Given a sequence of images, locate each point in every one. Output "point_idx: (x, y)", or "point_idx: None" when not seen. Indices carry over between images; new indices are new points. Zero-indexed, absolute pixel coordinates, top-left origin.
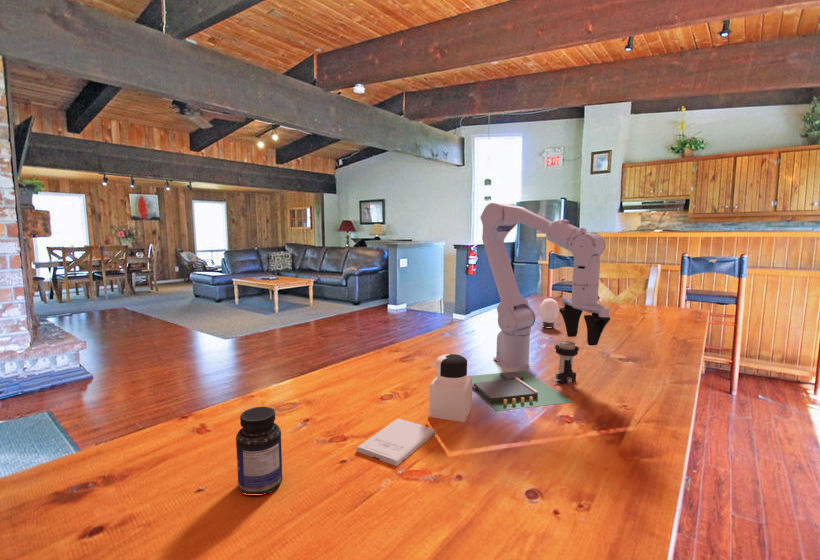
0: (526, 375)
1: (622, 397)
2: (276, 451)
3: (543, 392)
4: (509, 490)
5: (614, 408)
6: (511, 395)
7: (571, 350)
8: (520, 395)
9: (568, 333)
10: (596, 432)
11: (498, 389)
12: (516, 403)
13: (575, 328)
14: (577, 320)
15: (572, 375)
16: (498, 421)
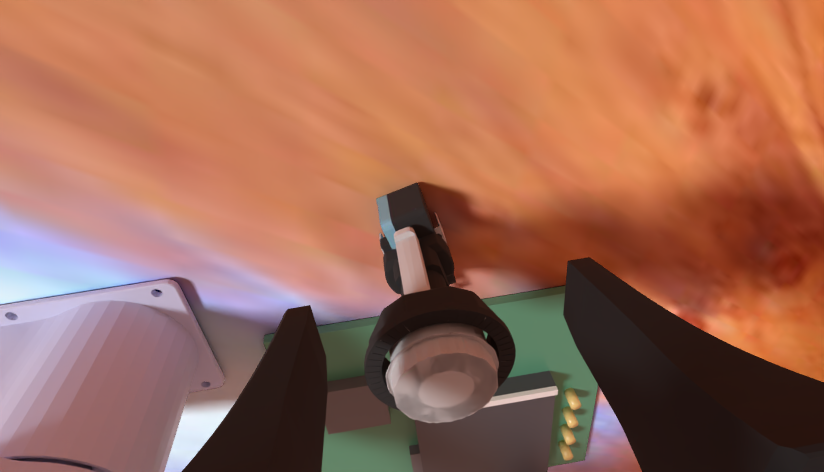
0: (326, 351)
1: (634, 45)
2: None
3: None
4: None
5: (701, 155)
6: (547, 443)
7: (512, 365)
8: (551, 424)
9: (326, 387)
10: (782, 291)
11: (494, 462)
12: (561, 420)
13: (306, 373)
14: (287, 437)
15: (432, 225)
16: (617, 453)
